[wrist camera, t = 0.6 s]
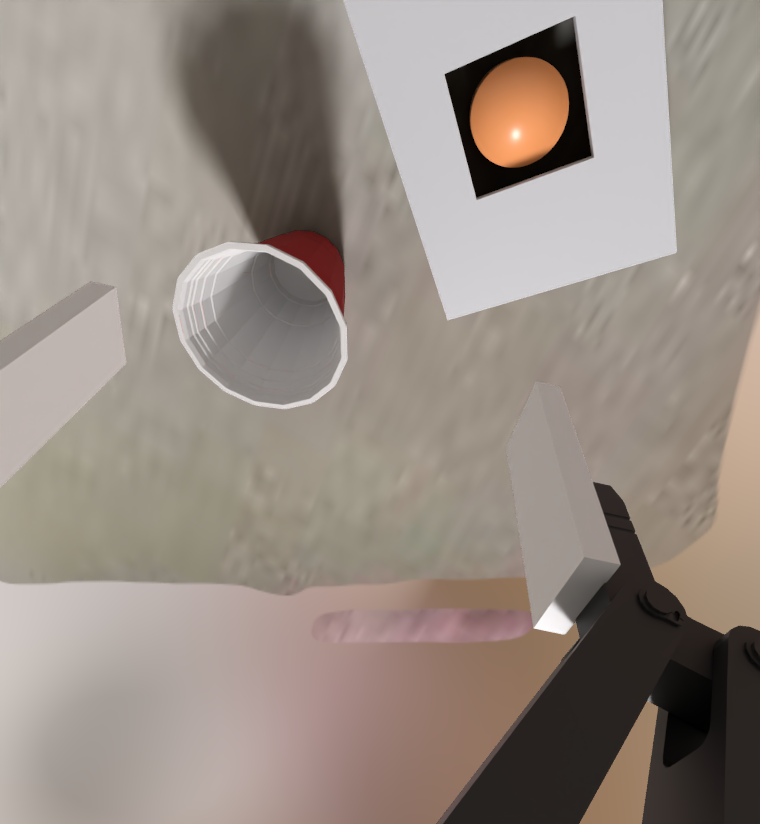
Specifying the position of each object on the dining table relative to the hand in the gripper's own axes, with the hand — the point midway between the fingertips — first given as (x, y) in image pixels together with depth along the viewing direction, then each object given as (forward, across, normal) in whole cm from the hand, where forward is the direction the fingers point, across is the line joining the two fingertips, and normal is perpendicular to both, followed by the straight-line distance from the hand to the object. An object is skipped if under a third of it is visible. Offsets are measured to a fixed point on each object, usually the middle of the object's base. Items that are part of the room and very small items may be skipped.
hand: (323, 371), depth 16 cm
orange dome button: (+21, +6, +7) cm, 23 cm away
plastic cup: (+24, -5, -7) cm, 26 cm away
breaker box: (+24, +6, +6) cm, 26 cm away
